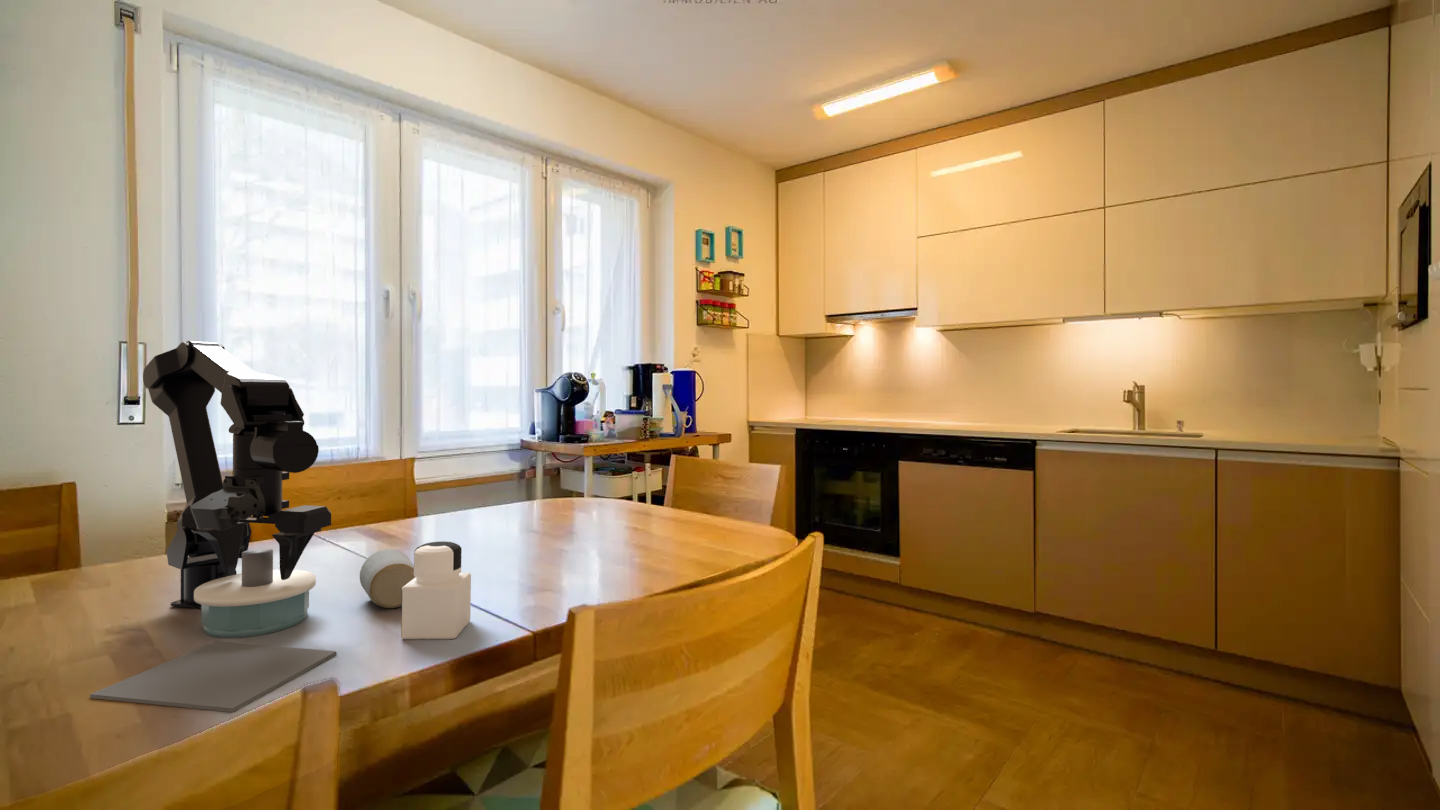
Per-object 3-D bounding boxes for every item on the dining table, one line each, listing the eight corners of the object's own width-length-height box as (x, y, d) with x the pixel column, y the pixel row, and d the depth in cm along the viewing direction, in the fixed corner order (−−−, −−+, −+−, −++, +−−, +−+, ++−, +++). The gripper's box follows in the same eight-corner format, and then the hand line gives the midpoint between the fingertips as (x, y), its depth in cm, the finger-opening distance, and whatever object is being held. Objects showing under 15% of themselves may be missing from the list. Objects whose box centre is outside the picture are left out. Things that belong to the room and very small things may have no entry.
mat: (90, 697, 70) (90, 694, 70) (216, 644, 85) (216, 641, 85) (232, 712, 68) (232, 708, 68) (336, 654, 83) (336, 651, 83)
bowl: (179, 634, 88) (179, 600, 88) (254, 605, 100) (254, 575, 100) (260, 640, 86) (260, 606, 86) (326, 610, 98) (327, 580, 98)
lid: (165, 602, 87) (165, 561, 87) (254, 573, 101) (254, 537, 101) (261, 609, 85) (261, 567, 85) (338, 579, 99) (338, 542, 99)
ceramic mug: (368, 615, 97) (370, 562, 97) (358, 599, 103) (360, 551, 103) (443, 603, 103) (445, 554, 103) (430, 589, 110) (431, 543, 110)
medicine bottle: (419, 621, 95) (421, 538, 94) (471, 621, 95) (472, 538, 95) (400, 640, 88) (401, 550, 87) (455, 639, 88) (456, 550, 88)
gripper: (142, 471, 86) (142, 590, 86) (271, 477, 83) (270, 599, 84) (218, 462, 97) (218, 567, 97) (334, 466, 94) (333, 575, 95)
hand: (257, 577), depth 93 cm, fingers open, 8 cm apart
